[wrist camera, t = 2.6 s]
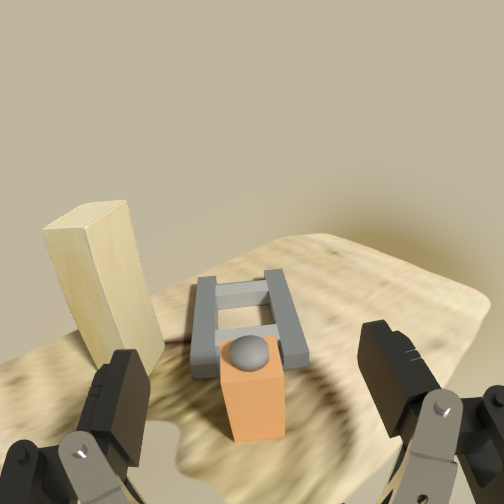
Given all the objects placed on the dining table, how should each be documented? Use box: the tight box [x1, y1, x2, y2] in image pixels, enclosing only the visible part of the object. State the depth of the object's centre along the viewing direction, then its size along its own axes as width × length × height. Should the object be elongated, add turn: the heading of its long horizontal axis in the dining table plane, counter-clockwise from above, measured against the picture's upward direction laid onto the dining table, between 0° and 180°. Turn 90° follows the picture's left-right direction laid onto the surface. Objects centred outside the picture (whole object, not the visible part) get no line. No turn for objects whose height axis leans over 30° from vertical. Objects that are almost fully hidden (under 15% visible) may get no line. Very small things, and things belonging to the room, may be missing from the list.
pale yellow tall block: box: [42, 200, 165, 377], centre depth 35 cm, size 8×7×21 cm
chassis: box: [189, 269, 309, 379], centre depth 45 cm, size 20×14×2 cm
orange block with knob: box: [220, 335, 285, 443], centre depth 28 cm, size 5×5×11 cm
